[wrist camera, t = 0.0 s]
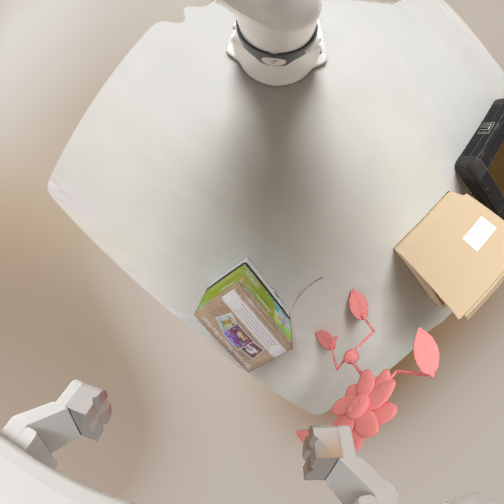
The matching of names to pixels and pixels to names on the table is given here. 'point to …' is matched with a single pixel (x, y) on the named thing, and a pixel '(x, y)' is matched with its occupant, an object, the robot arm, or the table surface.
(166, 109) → the table surface
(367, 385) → the figurine
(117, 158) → the table surface
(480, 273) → the lid
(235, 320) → the tea box
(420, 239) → the mailer box
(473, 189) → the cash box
